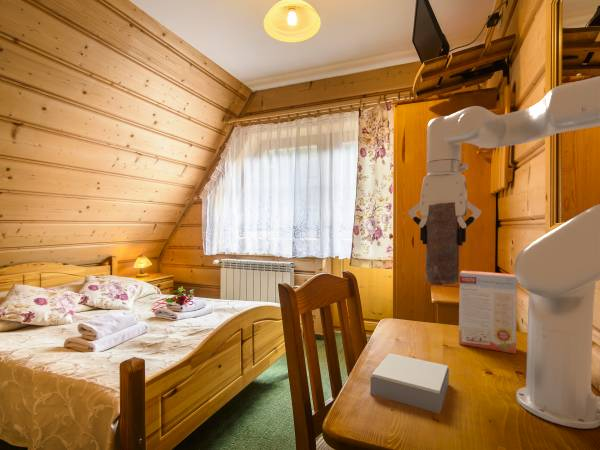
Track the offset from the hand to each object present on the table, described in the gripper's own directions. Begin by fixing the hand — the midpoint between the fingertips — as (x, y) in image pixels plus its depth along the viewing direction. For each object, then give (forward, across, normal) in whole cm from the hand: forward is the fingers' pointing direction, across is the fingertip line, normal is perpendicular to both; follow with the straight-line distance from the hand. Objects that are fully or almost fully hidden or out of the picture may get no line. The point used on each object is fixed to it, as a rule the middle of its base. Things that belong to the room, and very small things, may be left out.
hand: (442, 244), depth 79 cm
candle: (+10, 0, 0) cm, 10 cm away
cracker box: (+30, -8, -23) cm, 39 cm away
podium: (+30, +4, +14) cm, 33 cm away
